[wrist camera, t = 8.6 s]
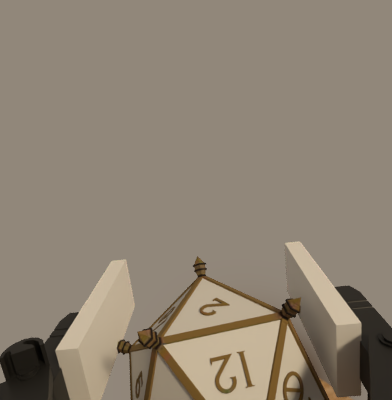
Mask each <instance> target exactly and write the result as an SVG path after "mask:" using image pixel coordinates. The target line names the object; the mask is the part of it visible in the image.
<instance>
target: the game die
mask: <svg viewBox="0 0 392 400" xmlns="http://www.w3.org/2000/svg"><path fill="white" fill-rule="evenodd" d="M205 264H206V263H204V262H203V261H202V260H201V259H200V258H198V257H197V259H196V261H195V264H194V265H193V267H195V272H196V273H197V275H198V278H197V279H196V280H195V281H194V282H193V283H192V284H191V285H190V286H189V287H188V288H187V289H186V290H185V291H184V292H183V293H182V294H181V296H180V297H179V298H178V299H177V300H176V301H175V302H174V303H173V304H172V305H171V306H170V307H169V308H168V309H167V310H166V311H165V312H164V313H163V314H162V315H161V316H160V317H159V318H158V319H157V320H156V321H155V322H154V323H153V324H152V325H151V327H149V328H148V329H144V330H143V331H139V332H138V336H139V339H138V340H137V341H136V342H135V343H134V344H133V345H131V344H130V343H129V342H126V341H125V340H120V341H119V342H118V345H117V351H118V353H120V352H121V353H123V354H125V353H129V357H130V390H131V400H329V398H328V396H327V394H326V392H325V390H324V388H323V386H322V384H321V382H320V380H319V378H318V375H317V373H316V372H315V369H314V367H313V366H312V363H311V361H310V359H309V357H308V355H307V353H306V351H305V349H304V347H303V345H302V343H301V341H300V339H299V337H298V335H297V333H296V331H295V329H294V327H293V324H292V323H291V320H290V318H292V317H296V314H297V313H300V310H301V306H300V302H301V297H300V298H296V299H293V298H291V299H286V303H285V304H282V307H283V308H282V310H279V309H277V308H275V307H273V306H271V305H269V304H266V303H264V302H262V301H260V300H258V299H255V298H253V297H251V296H249V295H246V294H244V293H242V292H240V291H238V290H236V289H233V288H231V287H229V286H227V285H225V284H222V283H220V282H218V281H216V280H214V279H211V278H209V277H207V276H206V275H205V270H206V268H205Z"/></svg>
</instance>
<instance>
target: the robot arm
mask: <svg viewBox="0 0 392 400" xmlns="http://www.w3.org/2000/svg"><path fill="white" fill-rule="evenodd" d="M285 256H286V275H287V291H288V293H289V296H290V298H293V299H296V298H300V297H301V302H300V306H301V310H300V313H298V315H299V317H300V319H301V321H302V323H303V325H304V327H305V330H306V332H307V334H308V336H309V338H310V340H311V342H312V344H313V346H314V349H315V351H316V353H317V355H318V357H319V359H320V362H321V364H322V366H323V368H324V370H325V372H326V374H327V376H328V378H329V381H330V383H331V385H332V387H333V389H334V391H335V393H336V396H337V397H347V396H360V395H361V382H362V383H363V385H364V387H365V388H366V390H367V392H368V400H392V328H391V327H390V326H389V324H388V323H387V322H386V321H385V320H384V319H383V318H382V316H381V315H380V314H379V313H378V312H377V311H376V310H375V309H374V308H373V307H372V305H371V304H370V303H369V302H368V301H367V299H366V298H365V297H364V296H363V295H362V294H361V293H360V292H359V291H357V290H356V289H354V288H352V287H350V286H340V287H334V286H333V285H332V283H331V282H330V281H329V280H328V278H327V277H326V275H325V274H324V273H323V272H322V270H321V269H320V267H319V266H318V265H317V263H316V262H315V261H314V260H313V258H312V257H311V255H310V254H309V253H308V252H307V250H306V249H305V248H304V246H303V245H302V244H301V242H290V243H285ZM134 307H135V303H134V298H133V293H132V288H131V283H130V277H129V272H128V267H127V262H126V259H125V260H116V261H112V262H111V263H110V265H109V266H108V268H107V269H106V271H105V272H104V274H103V276H102V277H101V279H100V280H99V282H98V284H97V285H96V287H95V289H94V290H93V291H92V293H91V295H90V296H89V298H88V299H87V301H86V303H85V304H84V306H83V307H82V309H81V310H80V312H77V313H70V314H68V315H67V316H66V317H65V318H64V319H62V320H61V321H60V322H59V324H58V325H57V326H56V328H55V330H54V331H53V332H52V334H51V335H50V338H48V339H47V341H46V342H45V344H44V343H43V340H42V339H40V338H29V339H24V340H21V341H19V342H17V343H15V344H13V345H11V346H10V347H9V348H7V349H6V350H5V351H4V352H3V353H2V354H1V356H0V364H1V367H2V370H3V373H4V376H5V378H6V382H3V383H1V384H0V400H101V398H102V396H103V393H104V390H105V387H106V384H107V382H108V379H109V376H110V373H111V371H112V368H113V365H114V362H115V360H116V357H117V354H118V351H117V345H118V342H119V341H120V340H123V337H124V335H125V332H126V329H127V326H128V323H129V321H130V318H131V315H132V313H133V310H134Z"/></svg>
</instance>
